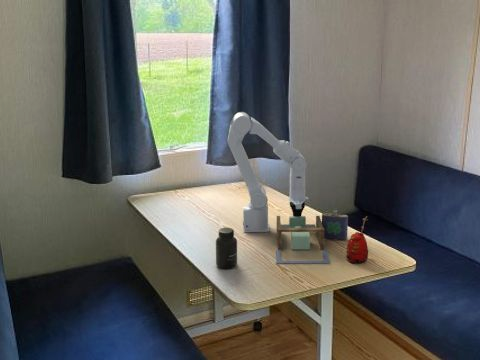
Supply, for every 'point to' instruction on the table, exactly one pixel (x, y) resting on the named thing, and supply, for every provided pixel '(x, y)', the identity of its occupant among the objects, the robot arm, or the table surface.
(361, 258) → the red clay folk toy
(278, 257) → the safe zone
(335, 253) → the table surface
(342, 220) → the flask
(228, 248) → the supplement bottle
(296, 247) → the teal block
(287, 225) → the mat
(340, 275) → the table surface
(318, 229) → the tunnel
